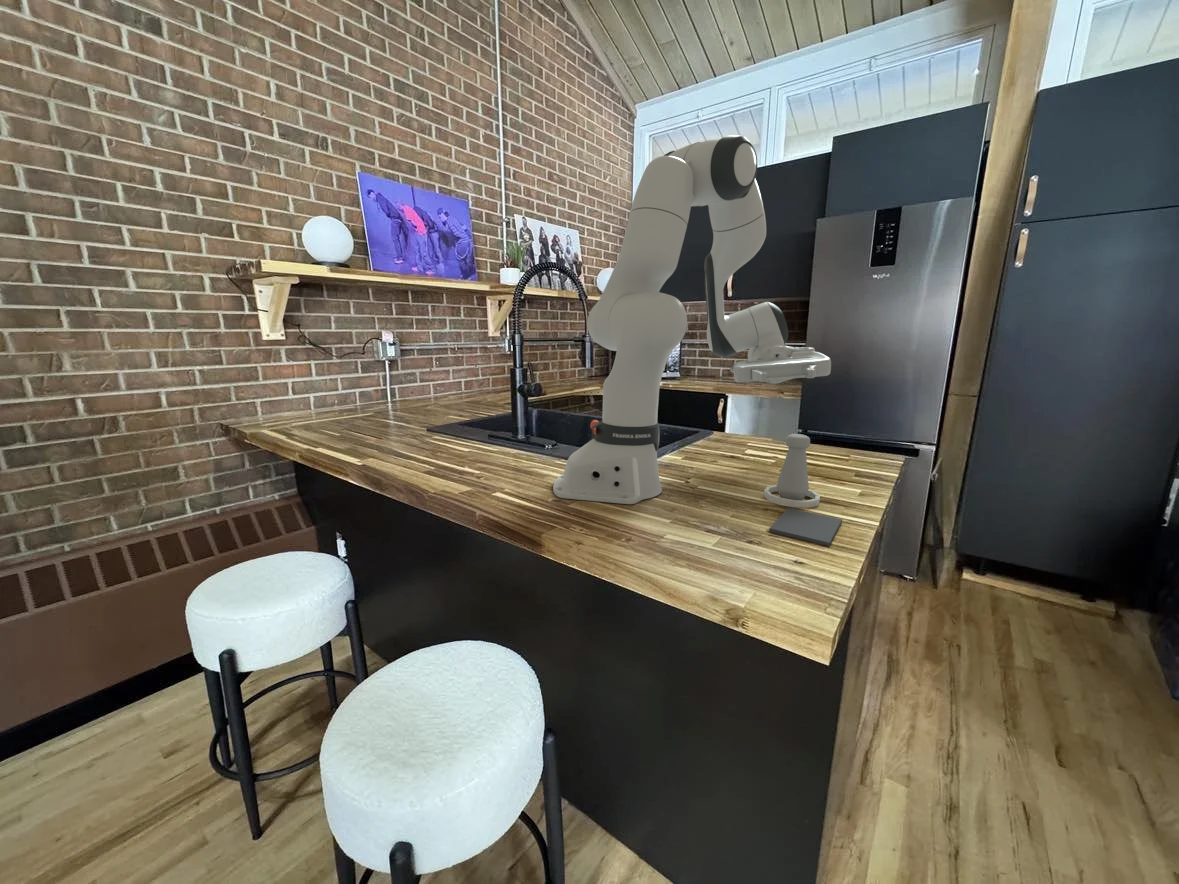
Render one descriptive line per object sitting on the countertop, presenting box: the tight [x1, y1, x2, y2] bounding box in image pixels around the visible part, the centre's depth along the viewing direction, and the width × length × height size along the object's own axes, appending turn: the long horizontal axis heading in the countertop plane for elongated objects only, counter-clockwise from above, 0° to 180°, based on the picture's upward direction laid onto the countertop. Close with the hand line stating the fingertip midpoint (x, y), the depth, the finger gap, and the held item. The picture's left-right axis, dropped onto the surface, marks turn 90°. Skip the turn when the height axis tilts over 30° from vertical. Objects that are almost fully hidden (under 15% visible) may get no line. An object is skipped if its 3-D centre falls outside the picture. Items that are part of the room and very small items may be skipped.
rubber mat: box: [768, 507, 843, 547], centre depth 80 cm, size 12×9×1 cm
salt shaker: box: [776, 433, 811, 500], centre depth 93 cm, size 6×6×13 cm
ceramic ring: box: [763, 484, 821, 509], centre depth 94 cm, size 10×10×1 cm
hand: (787, 376), depth 99 cm, fingers open, 8 cm apart
